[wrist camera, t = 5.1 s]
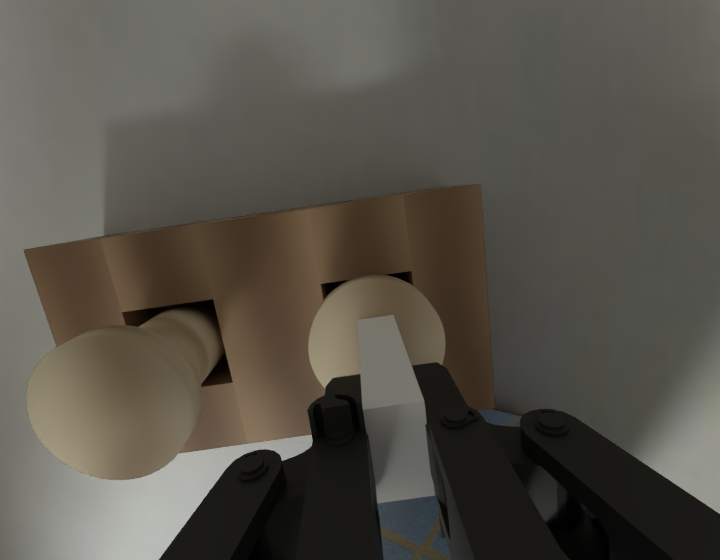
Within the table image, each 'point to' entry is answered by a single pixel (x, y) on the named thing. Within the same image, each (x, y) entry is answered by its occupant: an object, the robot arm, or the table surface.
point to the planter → (422, 517)
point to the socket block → (280, 295)
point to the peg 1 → (125, 392)
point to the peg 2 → (368, 300)
